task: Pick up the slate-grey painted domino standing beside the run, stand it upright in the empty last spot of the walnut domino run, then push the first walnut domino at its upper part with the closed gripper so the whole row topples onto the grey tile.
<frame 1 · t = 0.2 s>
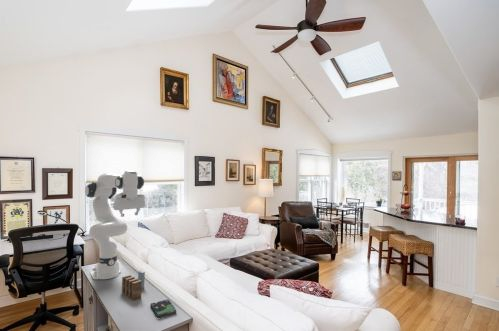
hand: (129, 215, 177), 47 cm above the table, fingers open, 8 cm apart
domino 2: (129, 294, 166), on the table
domino 3: (132, 296, 163), on the table
end domino: (141, 287, 177), on the table
domino 1: (126, 292, 169), on the table
disk drive: (163, 311, 147), on the table
domino 4: (136, 298, 160), on the table
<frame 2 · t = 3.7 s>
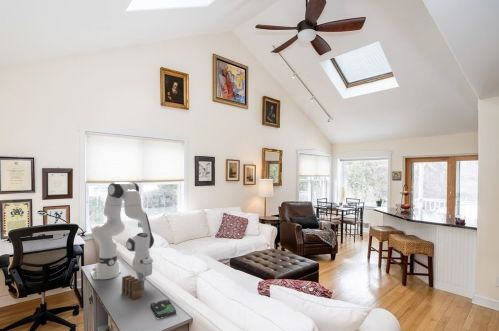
hand: (141, 279, 177), 5 cm above the table, fingers closed on end domino, 5 cm apart
end domino: (141, 287, 177), on the table, touching gripper
everything else where it was.
when the fingers open (6 cm above the table, at t = 10.1 s): end domino stays where it is, on the table.
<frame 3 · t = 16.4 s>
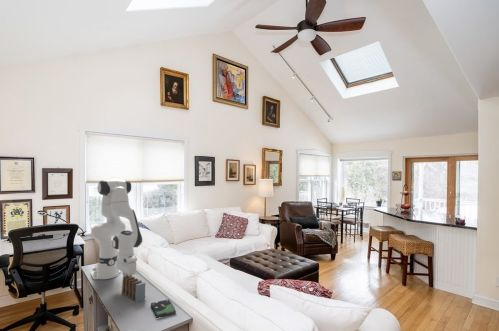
hand: (125, 278, 170), 8 cm above the table, fingers closed
end domino: (140, 300, 158), on the table
domino 1: (126, 291, 169), on the table, tilted 5°
everything else where it was.
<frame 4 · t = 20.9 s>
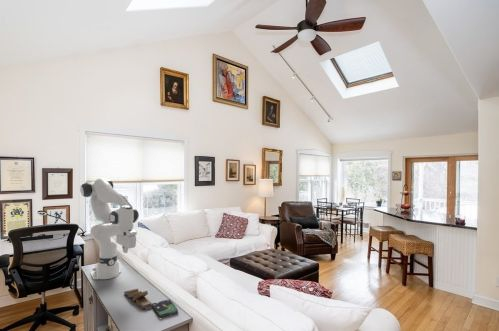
hand: (125, 252, 172), 24 cm above the table, fingers closed
domino 2: (131, 294, 163), point 1 cm above the table, tilted 68°, touching domino 3
domino 3: (136, 298, 158), point 1 cm above the table, tilted 56°, touching domino 2
end domino: (140, 302, 156), on the table, tilted 90°, touching domino 4
domino 1: (128, 292, 167), point 1 cm above the table, tilted 69°
domino 4: (140, 299, 156), point 2 cm above the table, tilted 90°, touching end domino
at the end: end domino tilted 90°; end domino inside the target area (1.0 cm from its centre), on the table; domino 1 tilted 70° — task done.
